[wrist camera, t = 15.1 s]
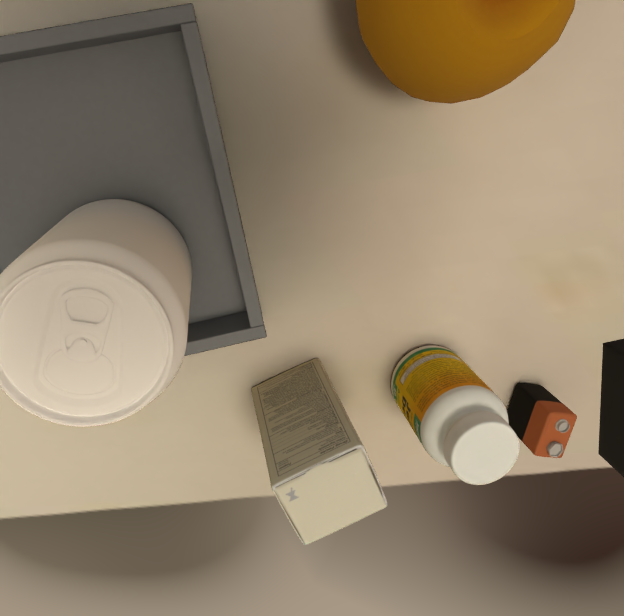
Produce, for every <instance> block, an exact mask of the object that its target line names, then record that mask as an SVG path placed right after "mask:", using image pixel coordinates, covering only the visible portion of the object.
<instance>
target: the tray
mask: <svg viewBox="0 0 624 616" xmlns="http://www.w3.org/2000/svg"><path fill="white" fill-rule="evenodd" d="M105 199H122V200H129V201H133V202H137V203H140V204H143V205H145V206H148V207H150V208H152V209H154V210H155V211H157V212H158V213H160V214H161V215H163V216H164V217H165V218H166V219H168V220H169V221H170V222H171V223H172V224H173V225H174V226H175V228H176V229H177V230H178V231H179V233H180V234H181V236H182V238H183V239H184V241H185V243H186V246H187V248H188V251H189V254H190V258H191V265H192V280H191V294H190V307H189V321H188V335H187V345H186V351H185V355H184V356H187V355H191V354H195V353H200V352H204V351H208V350H213V349H217V348H221V347H226V346H230V345H234V344H239V343H243V342H247V341H252V340H256V339H260V338H265V337H267V335H266V330H265V326H264V321H263V317H262V312H261V308H260V303H259V299H258V294H257V290H256V285H255V281H254V276H253V272H252V267H251V263H250V258H249V254H248V249H247V245H246V240H245V236H244V231H243V227H242V222H241V218H240V213H239V209H238V204H237V200H236V195H235V191H234V186H233V182H232V177H231V173H230V168H229V164H228V159H227V155H226V150H225V146H224V141H223V137H222V133H221V128H220V124H219V119H218V115H217V110H216V106H215V101H214V97H213V92H212V88H211V83H210V79H209V74H208V70H207V65H206V61H205V56H204V52H203V47H202V43H201V38H200V34H199V29H198V25H197V21H196V16H195V11H194V7H193V4H192V3H189V4H184V5H178V6H172V7H166V8H160V9H155V10H149V11H143V12H137V13H131V14H126V15H120V16H114V17H108V18H102V19H97V20H91V21H85V22H79V23H73V24H68V25H62V26H56V27H50V28H44V29H39V30H33V31H27V32H21V33H15V34H9V35H4V36H0V274H1V273H2V272H3V271H4V270H5V269H6V268H7V267H8V266H9V265H10V264H11V263H12V262H13V261H14V260H15V259H16V258H18V257H19V256H20V255H21V254H22V253H23V252H25V251H26V250H27V249H28V248H29V247H30V246H32V245H33V244H34V243H35V242H36V241H37V240H39V239H40V238H41V237H42V236H43V235H44V234H46V233H47V232H48V231H49V230H50V229H51V228H53V227H54V226H55V225H56V224H57V223H58V222H60V221H61V220H62V219H63V218H64V217H65V216H67V215H68V214H69V213H71V212H72V211H74V210H75V209H77V208H79V207H81V206H83V205H85V204H88V203H91V202H94V201H99V200H105Z"/></svg>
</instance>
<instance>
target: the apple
mask: <svg viewBox="0 0 624 616" xmlns="http://www.w3.org/2000/svg"><path fill="white" fill-rule="evenodd" d="M574 5H575V0H356V8H357V15H358V22H359V28H360V33H361V36H362V38H363V41H364V43H365V44H366V46H367V48H368V50H369V52H370V54H371V55H372V57H373V59H374V61H375V63H376V64H377V65H378V66H379V68H380V69H381V70H382V71H383V73H384V74H385V75H386V76H387V78H388V79H389V80H390V81H391V83H392V84H394V85H395V86H397V87H398V88H400V89H401V90H403V91H404V92H406V93H407V94H409V95H410V96H412V97H415V98H418V99H422V100H425V101H429V102H440V103H456V102H461V101H466V100H471V99H475V98H480V97H483V96H485V95H487V94H489V93H491V92H493V91H495V90H497V89H499V88H501V87H503V86H505V85H507V84H508V83H510V82H511V81H513V80H514V79H516V78H517V77H518V76H520V75H521V74H522V73H524V72H525V71H526V70H528V69H529V68H530V67H531V66H532V65H533V64H534V63H535V62H536V61H537V60H539V59H540V58H541V57H542V56H543V55H544V54H545V53H546V52H547V51H548V50H549V49H550V48H551V47H552V46H553V45H554V44H555V43H556V42H557V41H558V39H559V37H560V35H561V33H562V32H563V30H564V28H565V26H566V24H567V22H568V20H569V18H570V16H571V14H572V12H573V10H574Z"/></svg>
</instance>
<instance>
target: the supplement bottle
mask: <svg viewBox="0 0 624 616" xmlns="http://www.w3.org/2000/svg"><path fill="white" fill-rule="evenodd" d="M391 391H392V395H393V397H394V399H395V401H396V403H397V405H398V406H399V408H400V409H401V411H402V412H403V414H404V416H405V417H406V419H407V420H408V422H409V424H410V426H411V427H412V429H413V430H414V432H415V434H416V435H417V437H418V438H419V440H420V442H421V443H422V445H423V447H424V448H425V450H426V451H427V452H428V454H429V455H430V456H431V457H432V458H433V459H434V460H436V461H437V462H439V463H440V464H442V465H445V466H448V467H450V468H451V469H452V470H453V472H454V473H455V474H456V476H457V477H458V478H460V479H461V480H462V481H464V482H466V483H469V484H474V485H483V484H488V483H491V482H493V481H496V480H498V479H500V478H501V477H503V476H504V475H505V474H506V473H507V472H508V471H509V470H510V469H511V468H512V467H513V465H514V464H515V462H516V460H517V457H518V454H519V440H518V437H517V435H516V433H515V432H514V430H513V429H512V428H511V427H510V426H509V420H508V414H507V410H506V408H505V406H504V404H503V402H502V401H501V400H500V398H499V397H498V396H497V395H496V394H495V393H494V392H493V391H492V390H491V389H490V388H489V387H488V386H487V385H486V384H485V383H484V382H483V381H482V380H481V379H480V378H479V377H478V376H477V375H476V374H475V373H474V372H473V371H472V370H471V369H470V368H469V367H468V366H467V365H466V364H465V363H464V361H463V360H462V359H461V358H460V357H459V356H458V355H457V354H455V353H454V352H453V351H451V350H450V349H448V348H445V347H441V346H423V347H419V348H417V349H414V350H413V351H411V352H409V353H408V354H407V355H405V356H404V357H403V358H402V359H401V360H400V361H399V363H398V364H397V366H396V368H395V370H394V372H393V376H392V381H391Z"/></svg>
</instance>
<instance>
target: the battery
mask: <svg viewBox="0 0 624 616" xmlns="http://www.w3.org/2000/svg"><path fill="white" fill-rule="evenodd" d="M507 414H508V420H509V426H510V427H511V428H512V429H513V430H514V432H515V433H516V435H517V436H518V437H519V439H520V440H521V441H522V442H523V443H524V444H525V445H526V446H527V447H528V448H529V449H530V450H531V452H532V453H533V454H534V455H536V456H542V457H553V458H560V457H562V455H563V453H564V450H565V448H566V445H567V442H568V440H569V437H570V435H571V432H572V429H573V427H574V424H575V421H576V419H577V416H576V415H575V414H574V413H573V412H572V411H571V410H570V409H568V408H567V407H566V406H565V405H564V404H563V403H561V402H560V401H559V400H558V399H557V398H556V397H554V396H553V395H552V394H551V393H550V392H548V391H547V390H546V389H545V388H544V387H543V386H540V385H535V384H527V383H518V384H517V385H516V388H515V391H514V394H513V397H512V400H511V403H510V405H509V408H508V411H507Z"/></svg>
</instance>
